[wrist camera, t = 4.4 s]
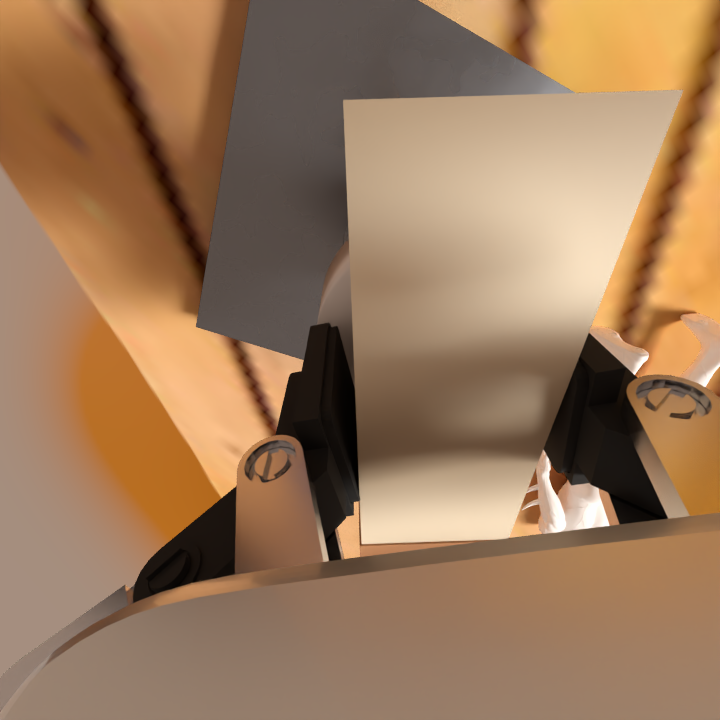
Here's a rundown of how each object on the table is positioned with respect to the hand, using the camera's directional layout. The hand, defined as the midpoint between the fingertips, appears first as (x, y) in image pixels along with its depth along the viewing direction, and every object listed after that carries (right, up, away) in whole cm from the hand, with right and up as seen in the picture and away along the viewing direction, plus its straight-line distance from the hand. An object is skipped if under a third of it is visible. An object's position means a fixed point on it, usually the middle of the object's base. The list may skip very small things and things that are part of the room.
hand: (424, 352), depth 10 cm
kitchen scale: (0, +7, +10) cm, 12 cm away
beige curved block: (0, +2, +3) cm, 3 cm away
